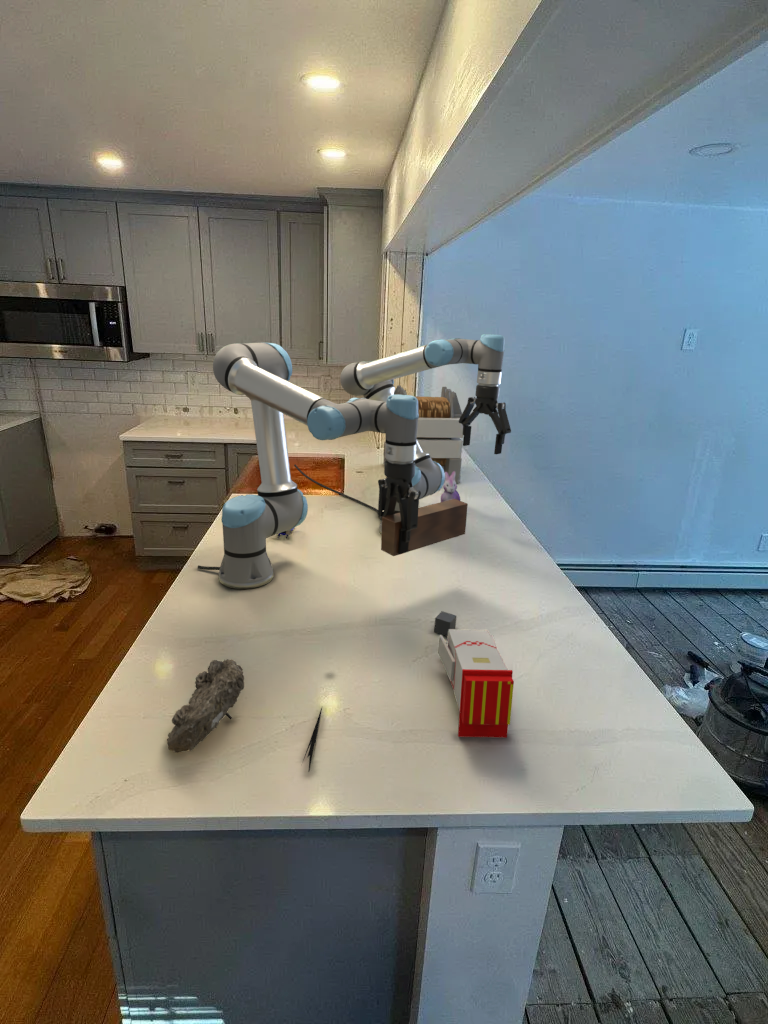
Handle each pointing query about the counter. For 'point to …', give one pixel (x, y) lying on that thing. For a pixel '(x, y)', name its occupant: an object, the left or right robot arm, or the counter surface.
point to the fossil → (206, 705)
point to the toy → (478, 682)
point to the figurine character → (285, 533)
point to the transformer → (440, 429)
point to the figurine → (450, 488)
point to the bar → (426, 526)
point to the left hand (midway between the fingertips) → (395, 548)
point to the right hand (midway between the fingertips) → (481, 449)
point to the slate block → (444, 623)
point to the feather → (313, 740)
